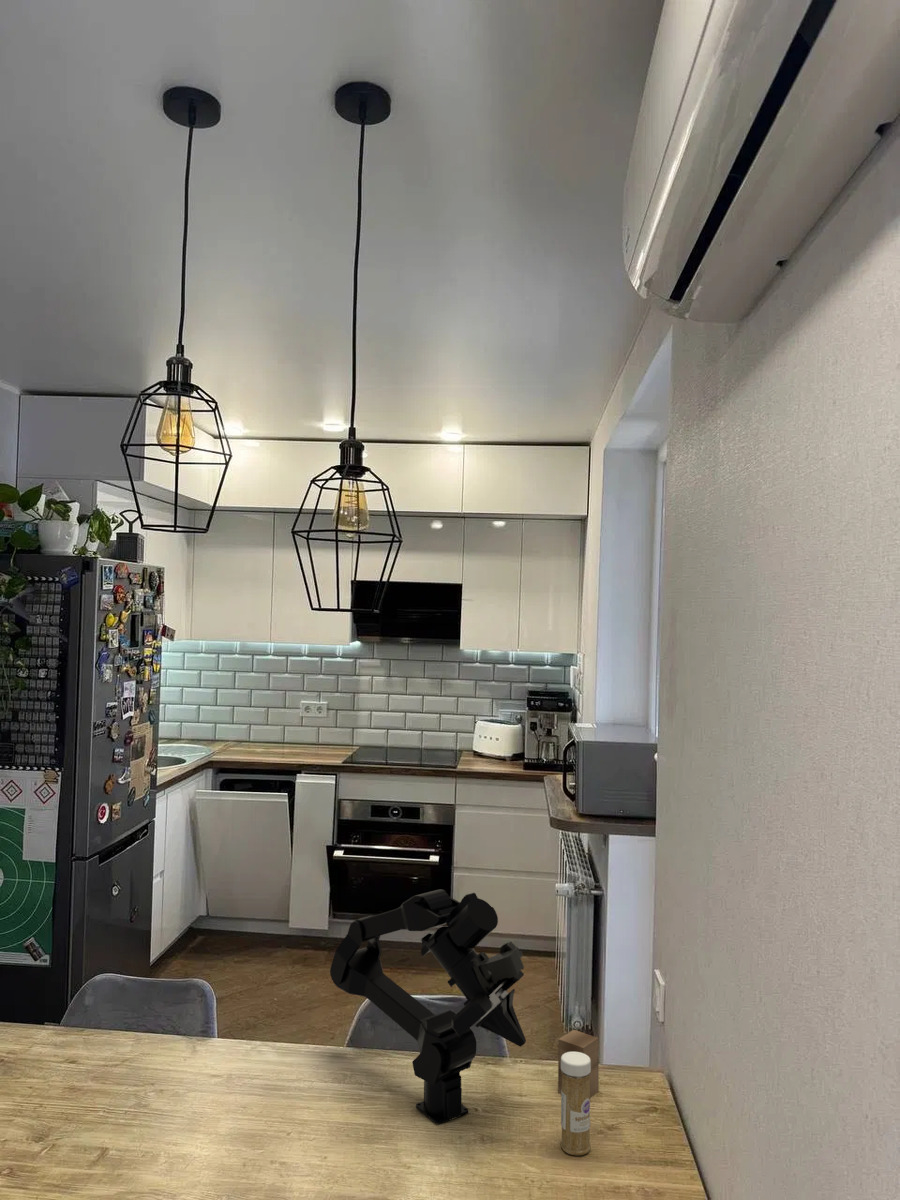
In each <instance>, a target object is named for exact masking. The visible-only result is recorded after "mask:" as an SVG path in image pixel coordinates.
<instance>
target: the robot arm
mask: <svg viewBox="0 0 900 1200" xmlns="http://www.w3.org/2000/svg"><path fill="white" fill-rule="evenodd" d="M498 923H499V919H498V913H497V911H496V910H495V908H494V907H493V906H491V905H490V904H489V903H488V902H487V900H486V901H485V900H484V899H482V898H479V897H478V896H477V894H476V893H475V892H471V893H468V894H465V895H464V896H463V897H462V898H461V900H460V901H458V900H456V899H455V898H453V897H451V896H450V895H449V894H448V893H447V892H446V890H445V889H435V890H432V891H428V892H424V893H421V894H416V895H413V896H411V897H409V899H406V900H405V901H404V902H402V904H401V905H400V906H399V907H397V908H394V909H391V910H387V911H384V912H382V913H381V912H380V913H378V914H373V915H368V916H364V917H360V918H358V919H355V920H354V921H352V922H351V923H350V925H349V928H348V930H347V934H346V935H345V937H344V938H343V940H342V941H341V942H340V944H339V945H338V946H337V948H336V949H335V952H334V955H333V957H332V958H333V959H332V961H331V964H330V970H329V974H330V978H331V981H332V982H333V984H334V986H336V987H337V988H338V989H340V990H341V991H343V992H345V993H347V994H348V995H354V996H358V997H359V996H360V997H364V998H366V999H368V1001H369V1002H370V1003H372V1004H373V1005H374V1006H376V1007H377V1009H379V1010H380V1011H381V1012H383V1013H384V1014H385V1015H386V1016H387V1017H388V1018H390V1019H391V1020H392V1021H393V1022H395V1024H397V1025H398V1026H399V1027H400V1028H401V1029H402V1030H404V1031H405V1032H406V1033H407V1034H408V1035H409V1036H410V1037H412V1038H413V1039H414V1040H415V1041H416V1042H417V1047H418V1051H419V1054H418V1055H417V1056H416V1057H415V1058H414V1059H413V1060H412V1061H411V1062H412V1068H413V1073H414V1076H415V1077H417V1078H419V1079H420V1080H423V1100H422V1101H420V1102H417V1103H415V1108H416V1109H417V1110H418V1111H420V1112H421V1113H422V1114H423V1115H424V1116H426V1118H428V1119H429V1120H430V1121H431V1122H433V1123H434V1124H436V1125H440V1124H442V1123H445V1122H448V1121H451V1120H453V1119H456V1118H460V1117H463V1115H467V1114H469V1108H468V1107H466V1106H465V1105H464V1104H462V1100H463V1099H462V1096H463V1095H462V1093H463V1091H462V1090H463V1089H462V1075H461V1072H462V1071H464V1070H468V1069H470V1068H471V1065H472V1063H473V1061H474V1058H475V1056H476V1055H477V1038H476V1036H475V1033H474V1031H473V1030H472V1026H474V1024H475V1027H476V1028H479V1027H481V1028H483V1029H485V1030H487V1031H489V1032H491V1033H494V1034H495V1035H497V1036H498V1037H501V1038H503V1039H504V1040H505V1039H506V1040H507V1041H508V1042H510V1043H512V1044H514V1045H516V1046H518V1047H523V1045H525V1044H526V1042H527V1039H526V1036H525V1034H524V1032H523V1029H522V1027H521V1024H520V1022H519V1020H518V1017H517V1014H516V1012H515V1008H514V994H515V992H516V990H515V988H513V989H512V990H511V991H509V992H508V990H509V989H510V988H511V987H512V986H513V985H515V984H516V983H518V981H520V979H522V977H524V975H525V973H523V971H522V970H524V969H525V966H524V964H523V960H522V957H523V955H524V953H523V951H522V950H520V949H519V947H518V946H516V945H515V944H514V943H513V942H512V941H508V942H506V943H503V944H502V945H501V946H500V948H499V953H497V954H495V955H493V956H490V957H489V956H488V954H487V953H486V952H485V951H484V952H483V951H480V952H476V950H475V948H476V947H478V945H479V944H480V943H481V942H482V941H484V939H486V937H488V936H489V935H490V933H492V932H493V931H494V930H495V929H496V928H497V926H498ZM444 925H446V926H444ZM440 926H441V927H440ZM437 927H439V928H438V929H437V930H436V931H434V933H427V934H426V935H424V936H423V937H422V938H421V940H420V941H421V946H420V947H421V948H420V955H421V956H422V957H425V955H427V954H428V953H430V952H431V954H432V955H433V956H434V958H435V959H436V960H437V961H438V963H439V964H440V965H441V967H442V968H443V970H444V971H445V972H446V973H447V975H448V976H449V980H447V983H448V985H449V986H450V987H451V988H452V987H453V986H455V985H456V987H457V988H458V989H459V991H460V992H461V994H462V995H463V996H464V998H465V999H466V1000H465V1001H464V1003H463V1005H464V1006H463V1007H462V1008H461V1009H459V1011H458V1012H454V1011H452V1010H450V1009H449V1010H447V1011H444V1012H442V1013H439V1014H435V1013H434V1012H432V1011H431V1010H429V1009H428V1007H426V1006H425V1005H423V1004H422V1003H421V1002H420V1001H419V1000H417V999H416V998H415V997H413V996H412V995H411V994H410V993H408V992H407V991H406V990H404V988H402V987H401V986H400V985H398V984H397V983H396V982H395V981H393V980H392V979H391V978H390V977H389V976H387V975H386V974H385V973H384V969H383V965H382V962H381V960H380V958H381V954H382V947H381V943H380V939H381V936H384V935H386V934H387V935H388V934H390V933H394V932H398V931H400V930H405V931H406V930H407V931H408V932H424V931H427V930H430V929H434V928H437ZM366 941H367V944H366V947H363V948H361V946H362V943H364V942H366Z"/></svg>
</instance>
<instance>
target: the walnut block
mask: <svg viewBox="0 0 900 1200" xmlns="http://www.w3.org/2000/svg"><path fill="white" fill-rule="evenodd" d="M557 1041H558V1042H557V1045H558V1049H557V1051H558V1052H557V1053H558V1055H557V1057H558V1058H557V1060H558V1063H557V1064H558V1066H557V1068H558V1069H557V1070H558V1072H557V1073H558V1075H557V1080H558V1081H557V1083H558V1084H557V1086H558V1087H557V1093H558V1094H559V1095H561V1089H562V1072H561V1056H562V1055H563V1054H564V1053H567V1052H581V1053H584V1054H586V1055H587V1056H589V1058H590V1060H591V1072H590V1075H589V1076H590V1078H589V1079H590V1080H589V1081H590V1099H591V1098H592V1097H594V1096H595V1095H597V1094H598V1093H599V1092H600V1091H599V1089H600V1088H599V1086H600V1085H599V1082H600V1081H599V1079H600V1078H599V1073H600V1072H599V1069H600V1068H599V1059H600V1058H599V1054H600V1053H599V1051H600V1049H599V1045H600V1044H599V1037H597V1036H594V1035H590V1034H587V1033H586V1032H582V1031H579V1030H575V1029H573V1030H571V1031H569V1032H567V1033H566V1034H564V1035H563V1036H561V1037H559V1038H558V1039H557Z"/></svg>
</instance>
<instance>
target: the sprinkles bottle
mask: <svg viewBox="0 0 900 1200" xmlns="http://www.w3.org/2000/svg"><path fill="white" fill-rule="evenodd" d="M561 1072H562V1089H561V1094H560V1097H561V1098H560V1103H561V1104H560V1106H561V1108H560V1110H561V1111H560V1113H561V1116H560V1117H561V1118H560V1120H561V1121H560V1123H561V1124H560V1125H561V1141H560V1147H561V1149H562V1150H563V1151H564V1152H565V1153H567V1155H568V1154H569V1155H572V1156H583V1155H587V1154H588V1153H589V1152H590V1150H591V1142H590V1141H591V1140H590V1139H591V1138H590V1137H591V1136H590V1133H591V1132H590V1128H591V1101H590V1099H591V1098H590V1081H589V1080H590V1079H589V1078H590V1076H589V1075H590V1072H591V1060H590V1058H589V1056H587V1055H586V1054H584V1053H581V1052H567V1053H564V1054H563V1055H562V1056H561Z"/></svg>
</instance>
